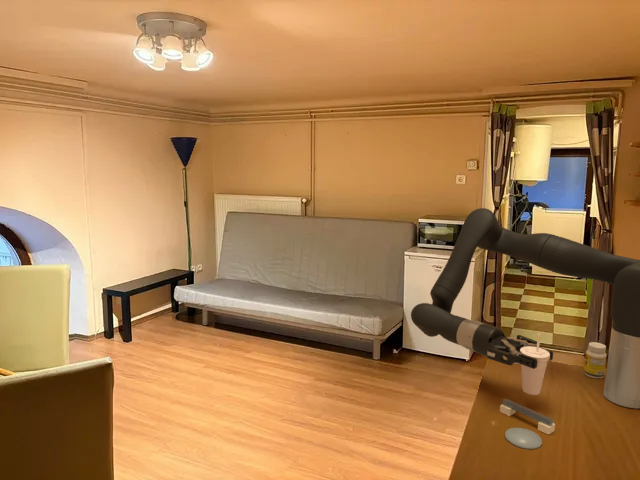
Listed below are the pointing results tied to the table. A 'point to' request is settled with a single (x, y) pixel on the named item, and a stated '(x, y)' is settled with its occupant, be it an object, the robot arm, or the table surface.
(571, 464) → the table surface
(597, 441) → the table surface
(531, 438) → the pad
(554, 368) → the table surface
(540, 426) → the hurdle stand
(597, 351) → the supplement bottle
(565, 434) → the table surface
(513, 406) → the steel bar
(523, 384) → the smoothie
